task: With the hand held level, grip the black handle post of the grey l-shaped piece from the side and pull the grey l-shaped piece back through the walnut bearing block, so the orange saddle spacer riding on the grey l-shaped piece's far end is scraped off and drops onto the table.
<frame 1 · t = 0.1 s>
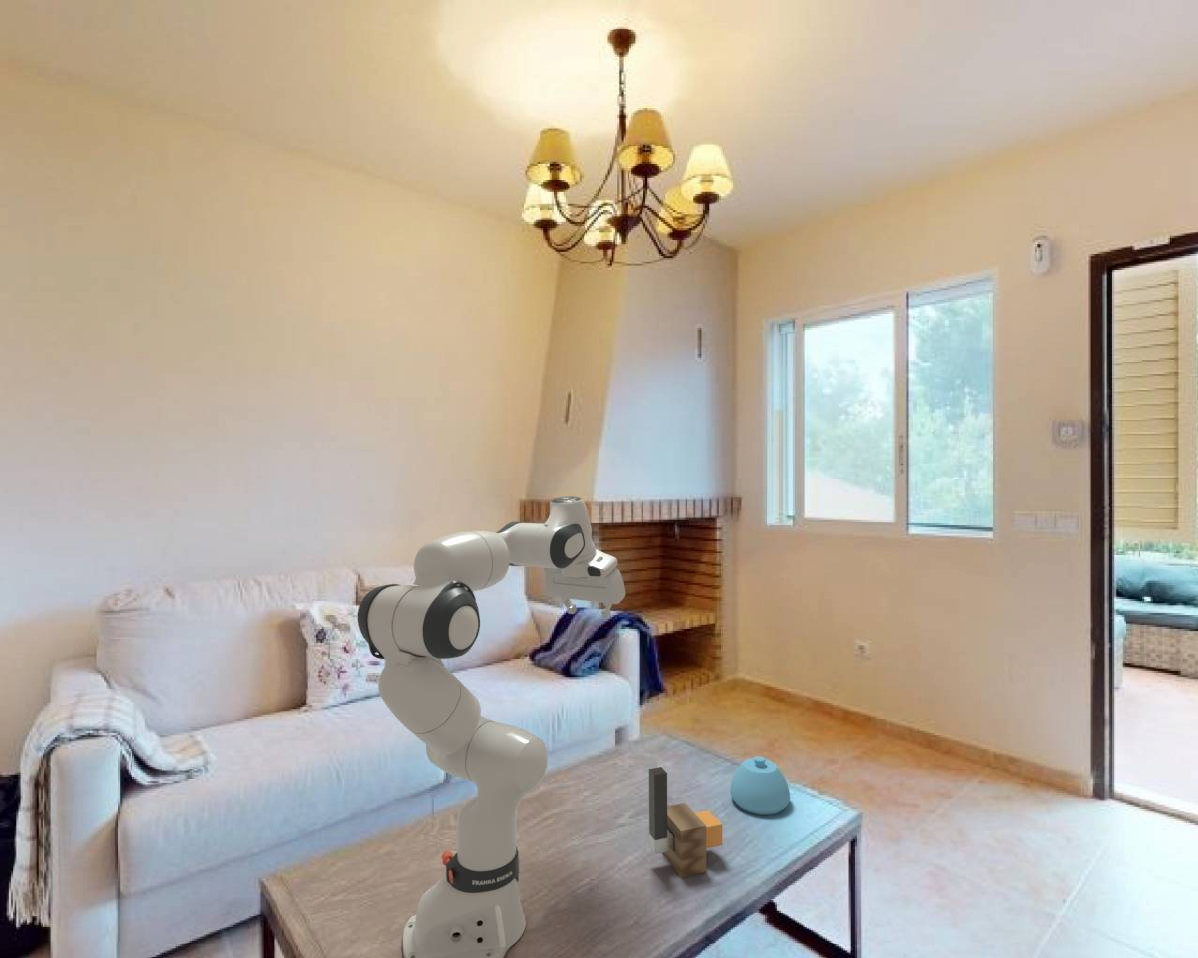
hand: (589, 614, 153), 52 cm above the table, fingers open, 8 cm apart
bearing block: (683, 861, 141), on the table
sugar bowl: (759, 803, 166), on the table
grey l-shaped piece: (685, 804, 141), point 12 cm above the table, slide at 0.0 cm, touching spacer
spacer: (707, 838, 143), point 4 cm above the table, touching grey l-shaped piece
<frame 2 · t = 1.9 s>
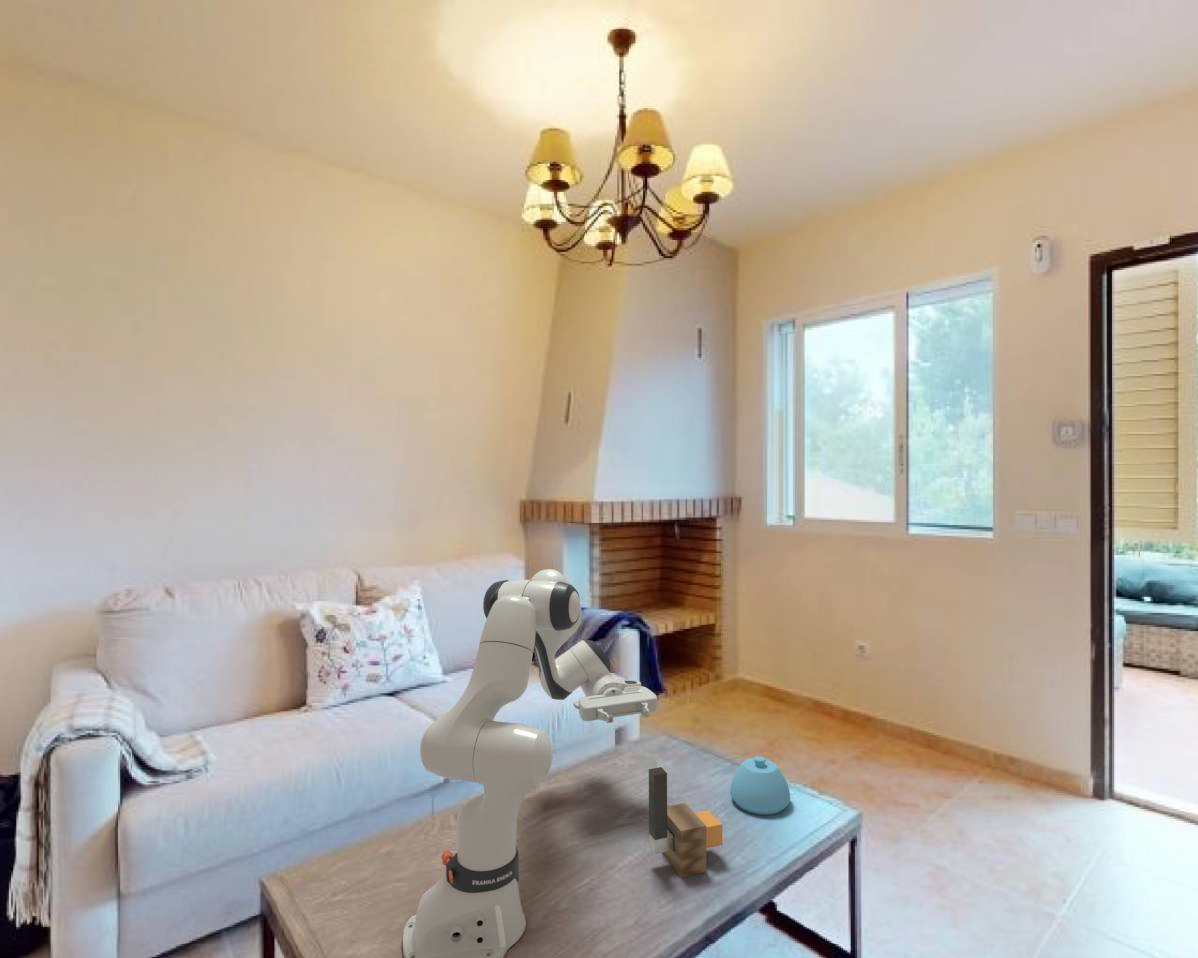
hand: (628, 716, 155), 27 cm above the table, fingers open, 8 cm apart
nothing on the table moved.
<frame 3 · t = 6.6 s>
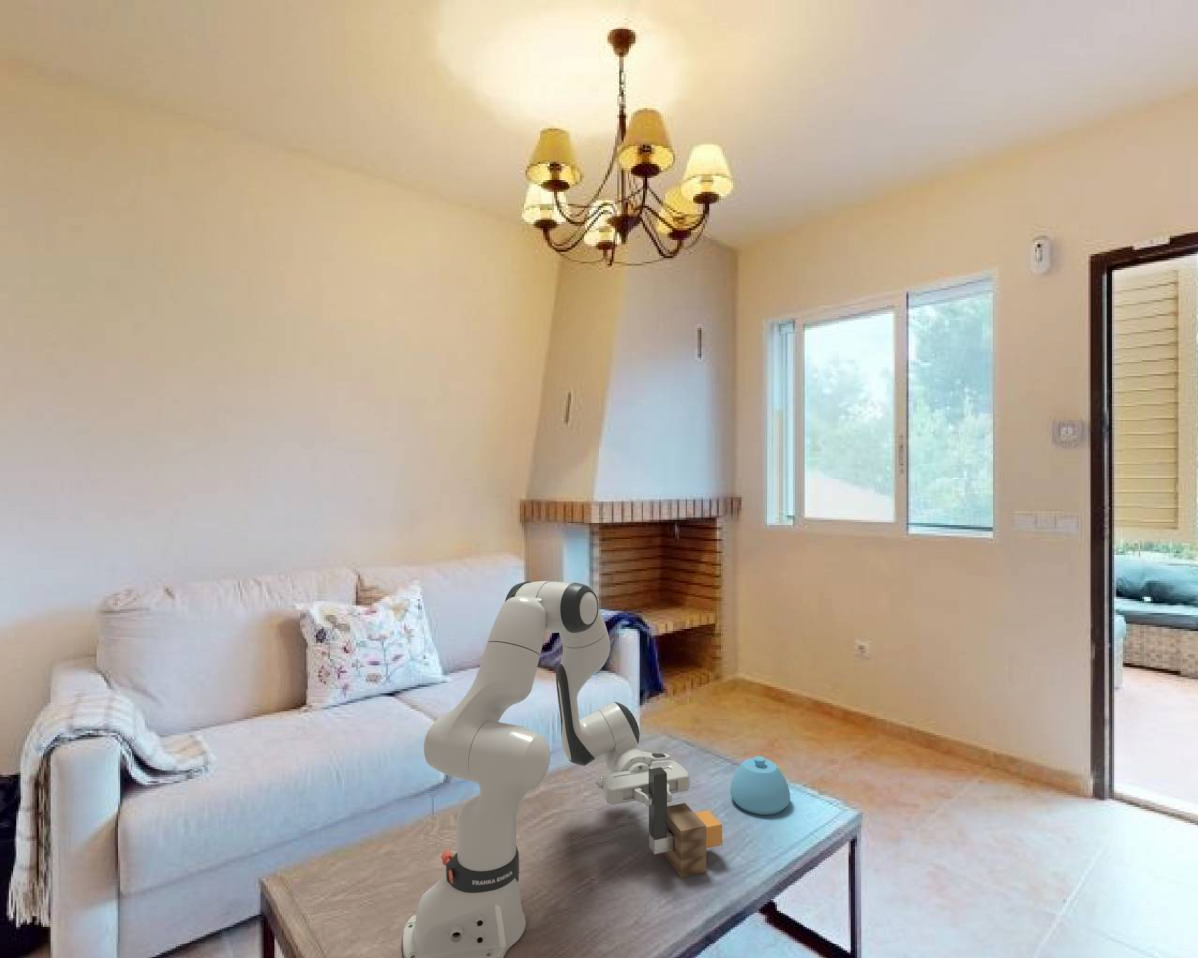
hand: (659, 800, 138), 15 cm above the table, fingers closed on grey l-shaped piece, 3 cm apart
grey l-shaped piece: (684, 804, 141), point 13 cm above the table, slide at 0.0 cm, touching gripper, spacer
everything else where it was.
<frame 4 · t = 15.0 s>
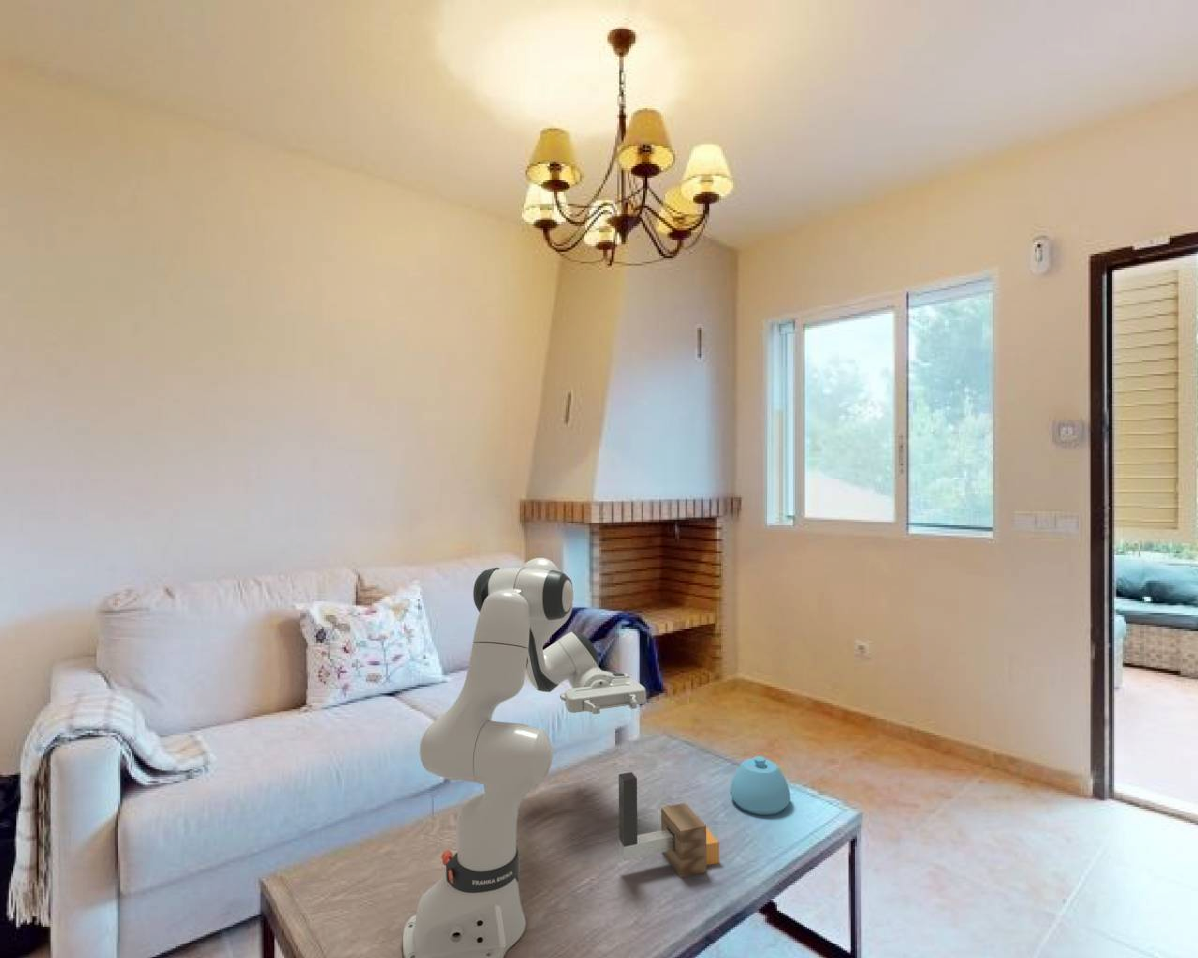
hand: (615, 708, 152), 30 cm above the table, fingers open, 8 cm apart
grey l-shaped piece: (655, 810, 139), point 12 cm above the table, slide at 7.0 cm
spacer: (704, 856, 143), on the table
everything else where it was.
at the end: grey l-shaped piece slide at 7.0 cm; spacer touching table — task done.
